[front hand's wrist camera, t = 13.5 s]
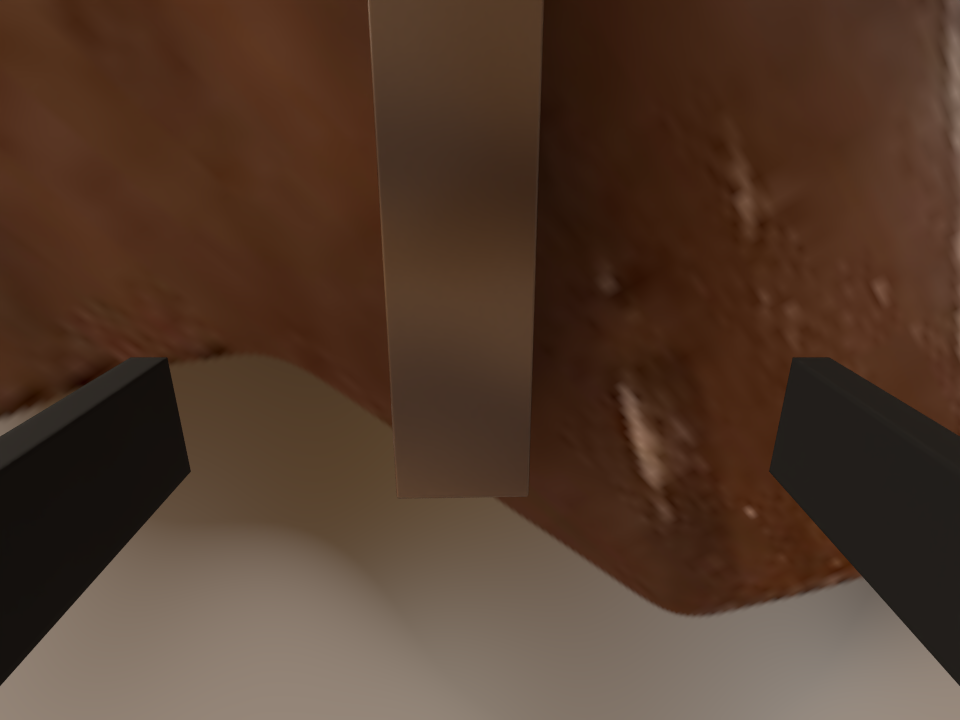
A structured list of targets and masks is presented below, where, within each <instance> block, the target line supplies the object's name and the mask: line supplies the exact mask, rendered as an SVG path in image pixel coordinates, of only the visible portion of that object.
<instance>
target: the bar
mask: <svg viewBox="0 0 960 720" xmlns="http://www.w3.org/2000/svg"><path fill="white" fill-rule="evenodd" d="M367 1H368V18H369V35H370V52H371V69H372V86H373V103H374V120H375V137H376V154H377V171H378V188H379V205H380V222H381V238H382V255H383V272H384V289H385V306H386V323H387V340H388V357H389V374H390V391H391V408H392V425H393V441H394V459H395V475H396V492H397V498H463V497H526V496H528V494H529V464H530V432H531V400H532V368H533V337H534V305H535V273H536V241H537V210H538V178H539V146H540V114H541V82H542V51H543V19H544V0H367Z"/></svg>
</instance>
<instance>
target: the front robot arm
mask: <svg viewBox="0 0 960 720" xmlns="http://www.w3.org/2000/svg"><path fill="white" fill-rule="evenodd" d="M190 472H191V470H190V465H189V461H188V456H187V451H186V446H185V441H184V436H183V432H182V427H181V422H180V417H179V412H178V407H177V403H176V398H175V393H174V388H173V383H172V378H171V374H170V369H169V364H168V359H167V358H129V359H127V360H126V361H124V362H123V363H121V364H119V365H118V366H116V367H114V368H113V369H111V370H109V371H108V372H106V373H104V374H103V375H101V376H99V377H98V378H96V379H94V380H93V381H91V382H90V383H88V384H86V385H85V386H83V387H81V388H80V389H78V390H76V391H75V392H73V393H71V394H70V395H68V396H66V397H65V398H63V399H61V400H60V401H58V402H57V403H55V404H53V405H52V406H50V407H48V408H47V409H45V410H43V411H42V412H40V413H38V414H37V415H35V416H33V417H32V418H30V419H29V420H27V421H25V422H24V423H22V424H20V425H19V426H17V427H15V428H14V429H12V430H10V431H9V432H7V433H5V434H4V435H2V436H0V686H1V684H2V683H3V682H4V681H5V680H6V679H7V678H8V677H9V675H10V674H11V673H12V672H13V671H14V670H15V669H16V668H17V666H18V665H19V664H20V663H21V662H22V661H23V660H24V658H25V657H26V656H27V655H28V654H29V653H30V652H31V651H32V650H33V648H34V647H35V646H36V645H37V644H38V643H39V642H40V641H41V639H42V638H43V637H44V636H45V635H46V634H47V633H48V632H49V630H50V629H51V628H52V627H53V626H54V625H55V624H56V623H57V621H58V620H59V619H60V618H61V617H62V616H63V615H64V614H65V612H66V611H67V610H68V609H69V608H70V607H71V606H72V605H73V603H74V602H75V601H76V600H77V599H78V598H79V597H80V596H81V594H82V593H83V592H84V591H85V590H86V589H87V588H88V587H89V585H90V584H91V583H92V582H93V581H94V580H95V579H96V578H97V576H98V575H99V574H100V573H101V572H102V571H103V570H104V569H105V567H106V566H107V565H108V564H109V563H110V562H111V561H112V560H113V558H114V557H115V556H116V555H117V554H118V553H119V552H120V551H121V549H122V548H123V547H124V546H125V545H126V544H127V543H128V542H129V540H130V539H131V538H132V537H133V536H134V535H135V534H136V533H137V531H138V530H139V529H140V528H141V527H142V526H143V525H144V524H145V522H146V521H147V520H148V519H149V518H150V517H151V516H152V515H153V513H154V512H155V511H156V510H157V509H158V508H159V507H160V505H161V504H162V503H163V502H164V501H165V500H166V499H167V498H168V496H169V495H170V494H171V493H172V492H173V491H174V490H175V489H176V487H177V486H178V485H179V484H180V483H181V482H182V481H183V480H184V478H185V477H186V476H187V475H188V474H189V473H190ZM769 472H770V473H771V474H772V475H773V476H774V477H775V478H776V480H777V481H778V482H779V483H780V484H781V485H782V486H783V487H784V489H785V490H786V491H787V492H788V493H789V494H790V495H791V496H792V498H793V499H794V500H795V501H796V502H797V503H798V504H799V506H800V507H801V508H802V509H803V510H804V511H805V512H806V513H807V515H808V516H809V517H810V518H811V519H812V520H813V521H814V522H815V524H816V525H817V526H818V527H819V528H820V529H821V530H822V531H823V533H824V534H825V535H826V536H827V537H828V538H829V539H830V540H831V542H832V543H833V544H834V545H835V546H836V547H837V548H838V549H839V551H840V552H841V553H842V554H843V555H844V556H845V557H846V558H847V560H848V561H849V562H850V563H851V564H852V565H853V566H854V567H855V569H856V570H857V571H858V572H859V573H860V574H861V575H862V576H863V578H864V579H865V580H866V581H867V582H868V583H869V584H870V585H871V587H872V588H873V589H874V590H875V591H876V592H877V593H878V594H879V596H880V597H881V598H882V599H883V600H884V601H885V602H886V603H887V604H888V606H889V607H890V608H891V609H892V610H893V611H894V612H895V614H896V615H897V616H898V617H899V618H900V619H901V620H902V621H903V623H904V624H905V625H906V626H907V627H908V628H909V629H910V630H911V632H912V633H913V634H914V635H915V636H916V637H917V638H918V639H919V641H920V642H921V643H922V644H923V645H924V646H925V647H926V648H927V650H928V651H929V652H930V653H931V654H932V655H933V656H934V657H935V659H936V660H937V661H938V662H939V663H940V664H941V665H942V666H943V668H944V669H945V670H946V671H947V672H948V673H949V674H950V675H951V677H952V678H953V679H954V680H955V681H956V682H957V683H958V684H959V686H960V436H958V435H956V434H955V433H953V432H951V431H950V430H948V429H946V428H945V427H943V426H941V425H940V424H938V423H937V422H935V421H933V420H932V419H930V418H928V417H927V416H925V415H923V414H922V413H920V412H918V411H917V410H915V409H913V408H912V407H910V406H908V405H907V404H905V403H903V402H902V401H900V400H899V399H897V398H895V397H894V396H892V395H890V394H889V393H887V392H885V391H884V390H882V389H880V388H879V387H877V386H875V385H874V384H872V383H870V382H869V381H867V380H866V379H864V378H862V377H861V376H859V375H857V374H856V373H854V372H852V371H851V370H849V369H847V368H846V367H844V366H842V365H841V364H839V363H837V362H836V361H834V360H833V359H831V358H793V359H792V364H791V369H790V374H789V378H788V383H787V388H786V393H785V398H784V403H783V407H782V412H781V417H780V422H779V427H778V432H777V436H776V441H775V446H774V451H773V456H772V461H771V466H770V470H769Z"/></svg>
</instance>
